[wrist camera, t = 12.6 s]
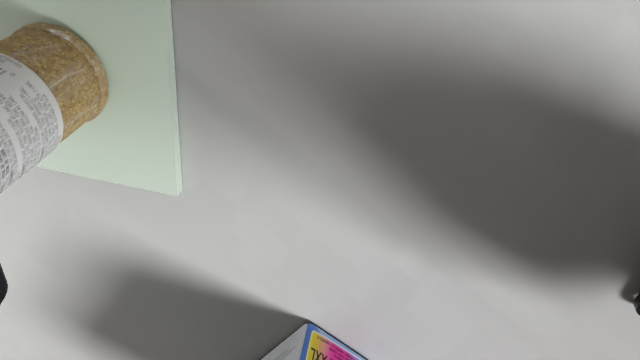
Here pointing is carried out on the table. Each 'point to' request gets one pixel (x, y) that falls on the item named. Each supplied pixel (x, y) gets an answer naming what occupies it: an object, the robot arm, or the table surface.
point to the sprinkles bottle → (44, 94)
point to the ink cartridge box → (311, 347)
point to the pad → (118, 90)
